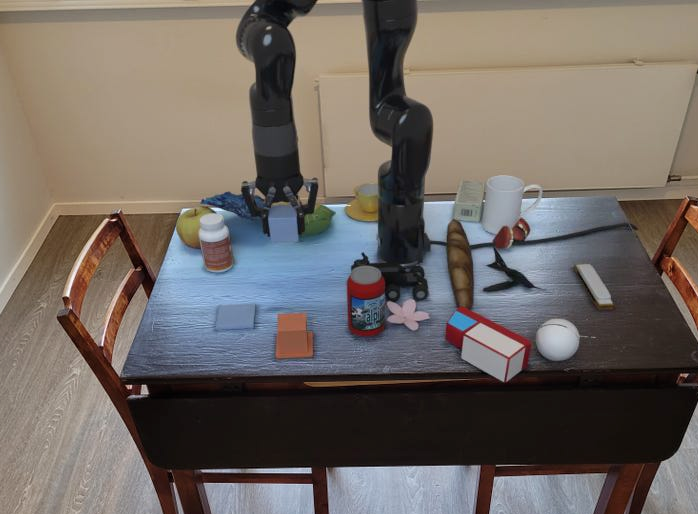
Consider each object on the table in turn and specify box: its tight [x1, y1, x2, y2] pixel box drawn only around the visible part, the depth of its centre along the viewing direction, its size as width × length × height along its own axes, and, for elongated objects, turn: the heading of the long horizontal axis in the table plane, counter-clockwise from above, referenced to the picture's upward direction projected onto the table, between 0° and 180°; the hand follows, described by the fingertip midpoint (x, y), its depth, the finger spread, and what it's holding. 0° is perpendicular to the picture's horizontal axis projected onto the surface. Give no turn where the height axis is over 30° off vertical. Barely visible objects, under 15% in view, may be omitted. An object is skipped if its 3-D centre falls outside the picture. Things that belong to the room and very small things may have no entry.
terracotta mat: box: [275, 331, 314, 360], centre depth 125 cm, size 6×6×1 cm
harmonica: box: [573, 263, 615, 311], centre depth 136 cm, size 15×3×2 cm, turn 4°
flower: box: [385, 298, 431, 331], centre depth 130 cm, size 10×10×2 cm
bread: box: [445, 219, 475, 311], centre depth 142 cm, size 38×5×5 cm, turn 177°
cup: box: [344, 182, 378, 222], centre depth 162 cm, size 12×12×5 cm
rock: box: [199, 191, 274, 221], centre depth 155 cm, size 15×17×2 cm
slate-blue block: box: [268, 204, 300, 244], centre depth 127 cm, size 5×5×5 cm
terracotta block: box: [276, 312, 309, 353], centre depth 123 cm, size 5×5×5 cm
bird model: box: [482, 246, 546, 292], centre depth 139 cm, size 5×12×10 cm
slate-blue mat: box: [215, 303, 257, 331], centre depth 132 cm, size 7×7×1 cm
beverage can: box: [346, 266, 386, 338], centre depth 125 cm, size 7×7×12 cm
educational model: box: [278, 202, 337, 237], centre depth 156 cm, size 13×16×5 cm
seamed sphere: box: [534, 318, 597, 362], centre depth 118 cm, size 10×7×7 cm
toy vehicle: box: [350, 251, 429, 302], centre depth 135 cm, size 8×15×9 cm, turn 92°
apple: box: [175, 205, 218, 249], centre depth 151 cm, size 10×10×8 cm
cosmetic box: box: [452, 179, 487, 223], centre depth 162 cm, size 6×4×12 cm
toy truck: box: [444, 306, 533, 383], centre depth 120 cm, size 6×15×7 cm
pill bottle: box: [198, 212, 235, 274], centre depth 143 cm, size 6×6×11 cm
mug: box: [481, 174, 543, 235], centre depth 153 cm, size 12×8×10 cm, turn 91°
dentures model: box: [491, 216, 531, 250], centre depth 149 cm, size 6×4×8 cm
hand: (285, 233), depth 129 cm, fingers closed on slate-blue block, 5 cm apart
